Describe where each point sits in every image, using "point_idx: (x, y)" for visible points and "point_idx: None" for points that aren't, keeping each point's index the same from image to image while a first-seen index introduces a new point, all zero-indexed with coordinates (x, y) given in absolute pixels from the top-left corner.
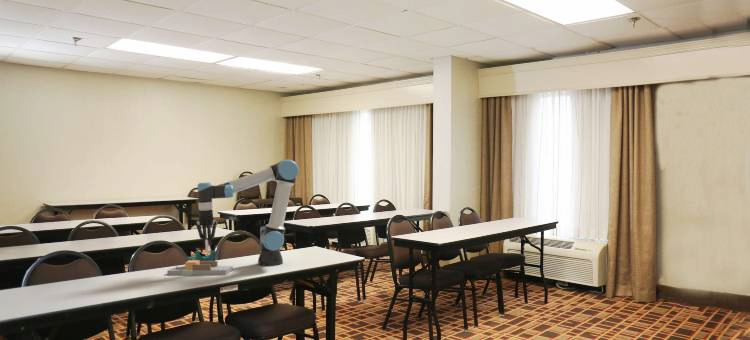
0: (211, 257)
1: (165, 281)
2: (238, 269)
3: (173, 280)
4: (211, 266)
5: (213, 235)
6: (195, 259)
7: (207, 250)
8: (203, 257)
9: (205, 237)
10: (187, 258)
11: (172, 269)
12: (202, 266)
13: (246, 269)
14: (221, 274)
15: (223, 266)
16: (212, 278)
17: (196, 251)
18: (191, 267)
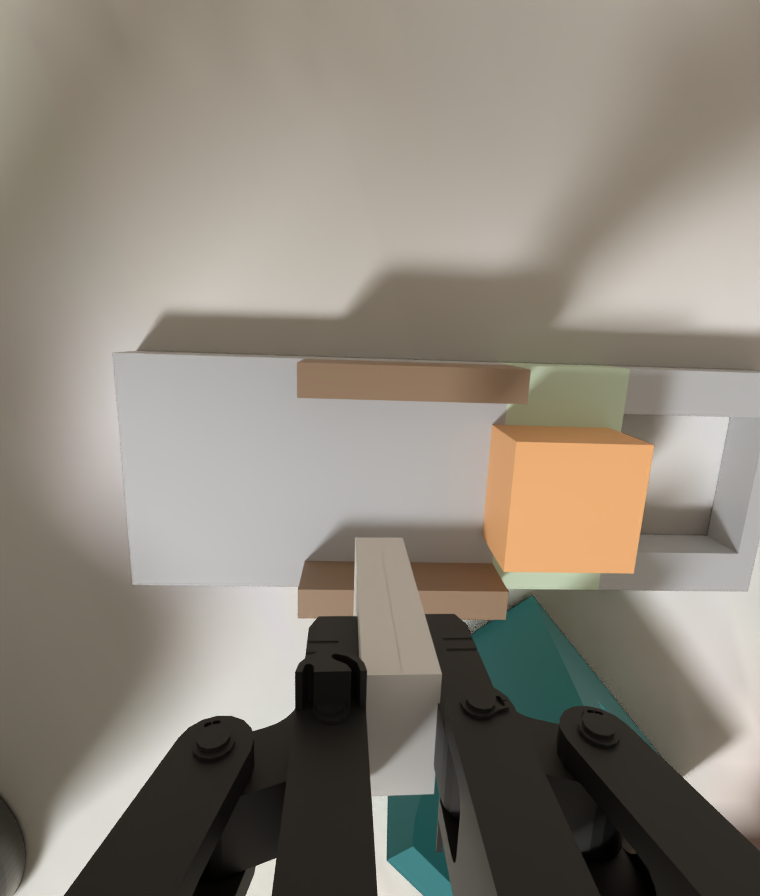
0: None
1: (696, 21)
2: (112, 602)
3: (620, 73)
4: None
5: (135, 834)
6: (591, 695)
7: (370, 542)
8: None
9: (452, 758)
10: None
11: (753, 458)
12: (397, 364)
13: (27, 598)
14: (185, 352)
15: (229, 563)
16: (210, 152)
17: None
18: (548, 430)
